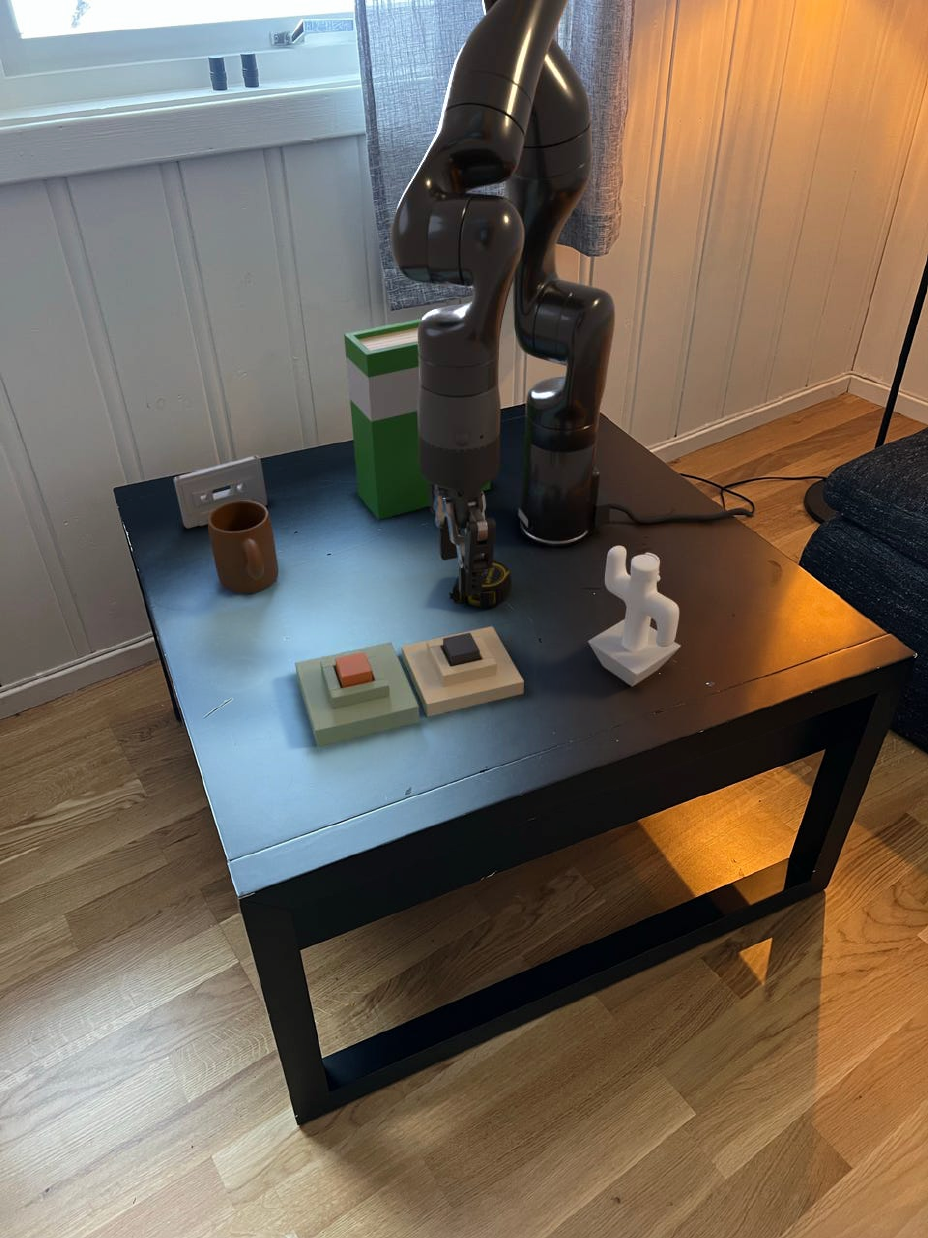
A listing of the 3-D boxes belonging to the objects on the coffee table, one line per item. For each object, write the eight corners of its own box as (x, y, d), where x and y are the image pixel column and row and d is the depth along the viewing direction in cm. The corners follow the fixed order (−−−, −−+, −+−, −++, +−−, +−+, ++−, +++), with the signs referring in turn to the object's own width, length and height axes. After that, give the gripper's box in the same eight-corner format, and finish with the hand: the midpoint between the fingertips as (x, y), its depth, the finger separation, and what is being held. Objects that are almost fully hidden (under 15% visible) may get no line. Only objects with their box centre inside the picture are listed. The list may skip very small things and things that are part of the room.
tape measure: (464, 576, 119) (464, 552, 117) (516, 585, 117) (517, 561, 115) (449, 608, 114) (448, 584, 111) (503, 618, 112) (504, 593, 110)
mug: (296, 607, 114) (287, 543, 108) (234, 623, 112) (221, 559, 106) (270, 555, 123) (260, 493, 117) (213, 569, 120) (200, 507, 114)
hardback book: (466, 466, 141) (466, 309, 126) (490, 488, 136) (492, 328, 120) (358, 495, 134) (344, 333, 119) (378, 519, 129) (366, 354, 114)
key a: (470, 642, 104) (470, 632, 103) (479, 660, 102) (479, 650, 101) (442, 648, 103) (442, 638, 102) (451, 667, 101) (451, 656, 100)
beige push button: (492, 638, 109) (492, 615, 107) (523, 694, 102) (524, 670, 100) (401, 658, 107) (400, 635, 104) (427, 717, 99) (426, 693, 97)
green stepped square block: (392, 657, 107) (390, 630, 104) (419, 722, 99) (418, 695, 96) (297, 678, 104) (293, 651, 102) (317, 747, 96) (313, 719, 93)
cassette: (264, 500, 133) (257, 453, 128) (269, 506, 132) (261, 458, 127) (182, 524, 128) (171, 475, 124) (186, 530, 127) (175, 482, 122)
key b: (365, 662, 101) (364, 651, 100) (372, 681, 98) (371, 670, 97) (336, 669, 100) (334, 658, 99) (343, 688, 98) (341, 677, 97)
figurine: (641, 705, 101) (659, 595, 91) (578, 661, 106) (588, 553, 97) (684, 675, 104) (705, 566, 95) (620, 634, 110) (635, 527, 100)
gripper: (526, 456, 81) (519, 608, 91) (472, 387, 91) (471, 531, 102) (443, 470, 79) (446, 624, 89) (398, 398, 89) (405, 544, 100)
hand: (460, 574), depth 95 cm, fingers open, 6 cm apart
